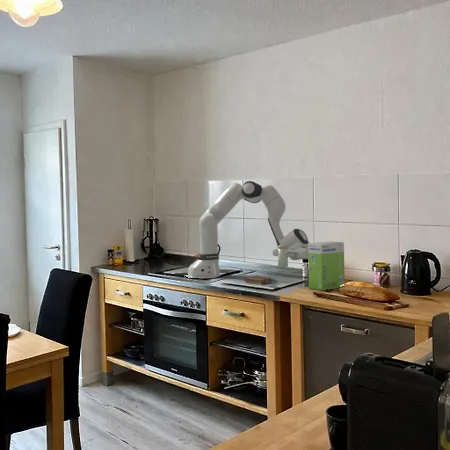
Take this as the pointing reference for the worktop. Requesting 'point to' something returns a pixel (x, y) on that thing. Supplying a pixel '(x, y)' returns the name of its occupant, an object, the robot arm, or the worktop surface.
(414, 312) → the worktop surface
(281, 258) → the spice jar
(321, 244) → the toothbrush box
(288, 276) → the worktop surface
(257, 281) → the walnut base
